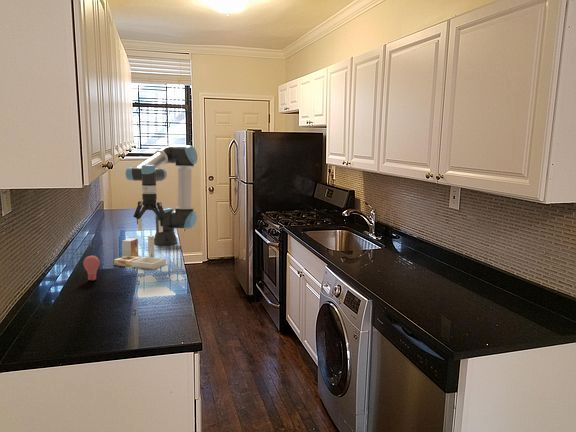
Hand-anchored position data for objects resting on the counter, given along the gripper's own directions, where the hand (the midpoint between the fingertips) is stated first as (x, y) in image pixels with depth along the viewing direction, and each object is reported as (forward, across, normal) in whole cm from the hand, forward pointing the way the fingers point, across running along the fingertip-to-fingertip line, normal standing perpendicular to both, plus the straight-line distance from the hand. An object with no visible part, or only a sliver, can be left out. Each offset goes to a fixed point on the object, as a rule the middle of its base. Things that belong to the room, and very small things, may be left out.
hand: (150, 231), depth 243 cm
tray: (+17, +5, -8) cm, 20 cm away
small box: (+17, -16, +2) cm, 24 cm away
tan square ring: (+17, -8, -10) cm, 21 cm away
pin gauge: (+17, 0, 0) cm, 17 cm away
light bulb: (+18, -4, -40) cm, 44 cm away
